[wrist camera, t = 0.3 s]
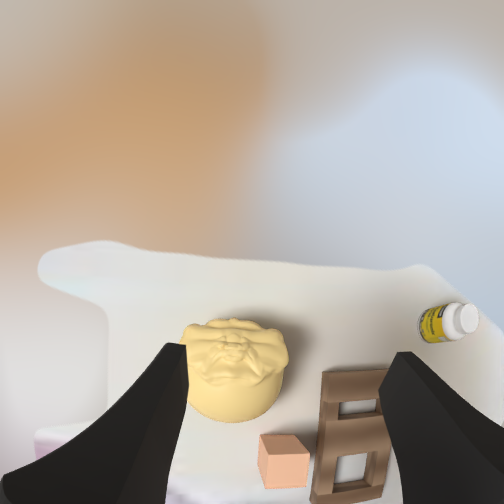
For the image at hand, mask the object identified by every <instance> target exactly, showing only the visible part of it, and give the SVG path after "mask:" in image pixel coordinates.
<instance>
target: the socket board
mask: <svg viewBox="0 0 504 504" xmlns="http://www.w3.org/2000/svg"><path fill="white" fill-rule="evenodd" d="M388 370H389V369H380V370H365V371H344V372H322V385H321V400H320V413H319V424H318V435H317V445H316V454H315V463H314V471H313V479H312V486H311V494H310V502H311V503H312V504H353V503H358V502H363V501H367V500H372V499H376V498H380V497H381V496H382V492H383V487H384V482H385V477H386V472H387V466H388V460H389V454H390V448H391V440H390V437H389V433H388V430H387V427H386V424H385V421H384V418H383V414H382V409H381V404H380V399H379V393H378V389H379V387H380V385H381V383H382V382H383V380H384V378H385V376H386V374H387V372H388ZM370 399H376V410H375V412H368V413H359V414H349V415H338V411H339V402H347V401H359V400H370ZM367 452H368V453H367ZM360 453H367V460H366V467H365V473H364V478H363V480H358V481H352V482H346V483H340V484H333V483H334V477H335V470H336V463H337V457H338V456H346V455H354V454H360Z"/></svg>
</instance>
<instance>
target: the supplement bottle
mask: <svg viewBox="0 0 504 504" xmlns="http://www.w3.org/2000/svg"><path fill="white" fill-rule="evenodd" d="M478 323H479V314H478V310H477V308H476V307H475V306H474V305H473V304H470V303H468V304H464V305H463V304H462V303H459V302H454V303H450V304H446V305H442V306H439V307H435V308H431V309H428V310H426V311H424V312H423V313H422V314H421V316H420V318H419V320H418V333H419V336H420V337H421V339H422V340H423V341H425V342H427V343H439V342H448V341H456V340H460V339H462V338H463V337H464V336H465V335H466V334H469V333H473V332H474V331H475V330H476V329H477V327H478Z"/></svg>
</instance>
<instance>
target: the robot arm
mask: <svg viewBox="0 0 504 504" xmlns="http://www.w3.org/2000/svg"><path fill="white" fill-rule="evenodd" d="M188 391H189V376H188V364H187V350H186V345H184V344H176V343H166V344H165V345H164V346H163V348H162V349H161V350H160V352H159V353H158V354H157V356H156V357H155V358H154V360H153V361H152V362H151V364H150V365H149V366H148V367H147V368H146V370H145V371H144V372H143V373H142V374H141V376H140V377H139V378H138V379H137V380H136V381H135V383H134V384H133V385H132V386H131V387H130V388H129V389H128V390H127V391H126V392H125V393H124V394H123V396H122V397H121V398H120V399H119V400H118V401H117V402H116V403H115V404H114V405H113V406H112V407H111V408H110V409H109V410H107V411H106V412H105V413H104V414H103V415H102V416H101V417H100V418H99V419H97V420H96V421H95V422H94V423H93V424H91V425H90V426H89V427H88V428H86V429H85V430H84V431H82V432H81V433H80V434H78V435H77V436H76V437H74V438H73V439H72V440H70V441H69V442H67V443H66V444H64V445H63V446H61V447H59V448H58V449H56V450H54V451H53V452H51V453H49V454H47V455H46V456H44V457H42V458H40V459H39V460H37V461H35V462H33V463H30V464H28V465H26V466H24V467H21V468H19V469H17V470H15V471H12V472H9V473H7V474H4V476H3V478H2V479H1V481H0V504H165V498H166V491H167V483H168V476H169V471H170V467H171V462H172V459H173V455H174V451H175V448H176V444H177V440H178V437H179V433H180V429H181V426H182V422H183V418H184V415H185V410H186V404H187V398H188ZM378 393H379V399H380V404H381V409H382V414H383V418H384V421H385V424H386V427H387V430H388V433H389V437H390V440H391V443H392V446H393V449H394V453H395V456H396V459H397V463H398V467H399V472H400V478H401V485H402V494H403V504H504V428H503V427H501V426H500V425H498V424H496V423H495V422H493V421H492V420H490V419H489V418H487V417H486V416H485V415H483V414H482V413H480V412H479V411H478V410H476V409H475V408H474V407H473V406H471V405H470V404H469V403H468V402H467V401H465V400H464V399H463V398H462V397H461V396H460V395H458V394H457V393H456V392H455V391H454V390H453V389H452V388H451V387H450V386H449V385H447V384H446V383H445V382H444V381H443V380H442V379H441V378H440V377H439V376H438V375H437V374H436V373H435V372H434V371H433V370H431V369H430V368H429V367H428V366H427V365H426V364H425V363H424V362H423V361H422V360H421V359H419V358H418V357H417V356H416V355H415V354H414V353H412V352H411V351H410V352H397V354H396V356H395V358H394V360H393V362H392V364H391V366H390V368H389V370H388V372H387V374H386V376H385V378H384V380H383V382H382V383H381V385H380V387H379V389H378Z"/></svg>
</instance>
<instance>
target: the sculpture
mask: <svg viewBox="0 0 504 504" xmlns="http://www.w3.org/2000/svg"><path fill="white" fill-rule="evenodd" d="M179 344H184V345H186V350H187V364H188V376H189V391H188V398H187V401H188V403H189V404H190V405H191V406H192V407H193V408H194V409H195V410H196V411H197V412H199V413H200V414H202V415H203V416H205V417H207V418H209V419H212V420H215V421H219V422H225V423H239V422H245V421H249V420H252V419H255V418H257V417H259V416H261V415H262V414H264V413H265V412H266V411H267V410H268V409H269V408H270V407H271V406H272V405H273V404H274V402H275V401H276V399H277V397H278V395H279V392H280V389H281V385H282V380H283V373H284V368H285V367H286V366H287V364H288V361H289V355H288V351H287V348H286V345H285V343H284V338H283V335H282V333H281V332H280V331H279V330H276V329H274V328H270V329H264V328H261V327H260V325H259V324H257V323H255V322H253V321H249V320H242V321H240V320H238V319H236V318H231V319H229V320H226V319H214V320H211V321H209V322H208V323H207V324H206V325H202V326H200V325H199V324H191V325H188V326H187V327H186V328H185V329H184V332H183V336H182V338H181V340H180V342H179Z"/></svg>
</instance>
